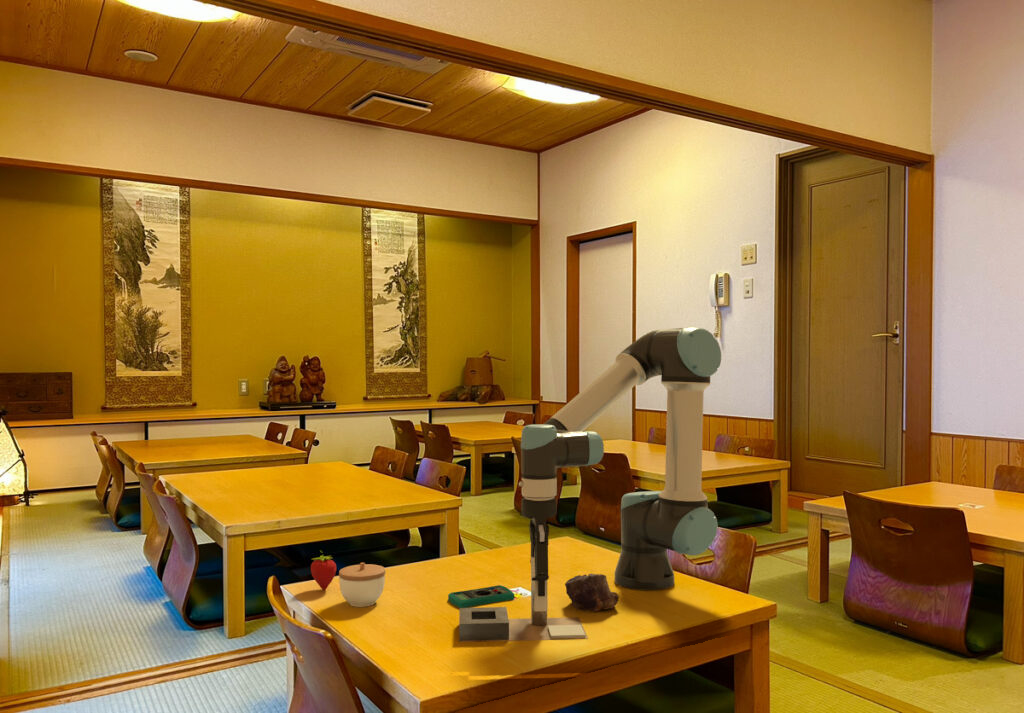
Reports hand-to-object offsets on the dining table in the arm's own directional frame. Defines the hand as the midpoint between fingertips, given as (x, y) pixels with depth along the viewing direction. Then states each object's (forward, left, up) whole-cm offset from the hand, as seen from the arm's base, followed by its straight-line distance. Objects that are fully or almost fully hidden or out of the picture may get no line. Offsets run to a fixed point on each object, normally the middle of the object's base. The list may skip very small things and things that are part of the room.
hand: (539, 605), depth 164 cm
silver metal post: (0, 0, -4) cm, 4 cm away
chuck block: (+12, +4, -4) cm, 13 cm away
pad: (-5, +6, -4) cm, 9 cm away
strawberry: (+51, -30, -5) cm, 59 cm away
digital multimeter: (+12, -18, -5) cm, 22 cm away
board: (+4, +3, -5) cm, 7 cm away
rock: (-12, -10, -5) cm, 17 cm away
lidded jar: (+40, -19, -5) cm, 45 cm away
